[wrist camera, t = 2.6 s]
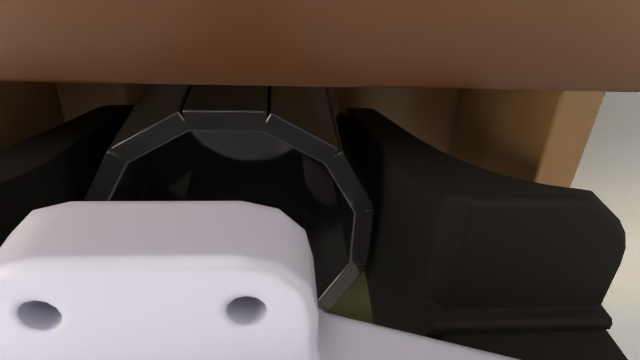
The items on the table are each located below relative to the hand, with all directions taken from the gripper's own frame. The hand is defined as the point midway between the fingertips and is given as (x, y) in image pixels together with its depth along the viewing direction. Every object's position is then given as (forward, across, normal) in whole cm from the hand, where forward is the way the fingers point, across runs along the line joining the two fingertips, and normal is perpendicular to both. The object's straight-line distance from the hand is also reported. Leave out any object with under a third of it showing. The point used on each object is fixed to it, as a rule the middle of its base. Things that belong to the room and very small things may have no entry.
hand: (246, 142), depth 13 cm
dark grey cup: (+1, 0, 0) cm, 1 cm away
